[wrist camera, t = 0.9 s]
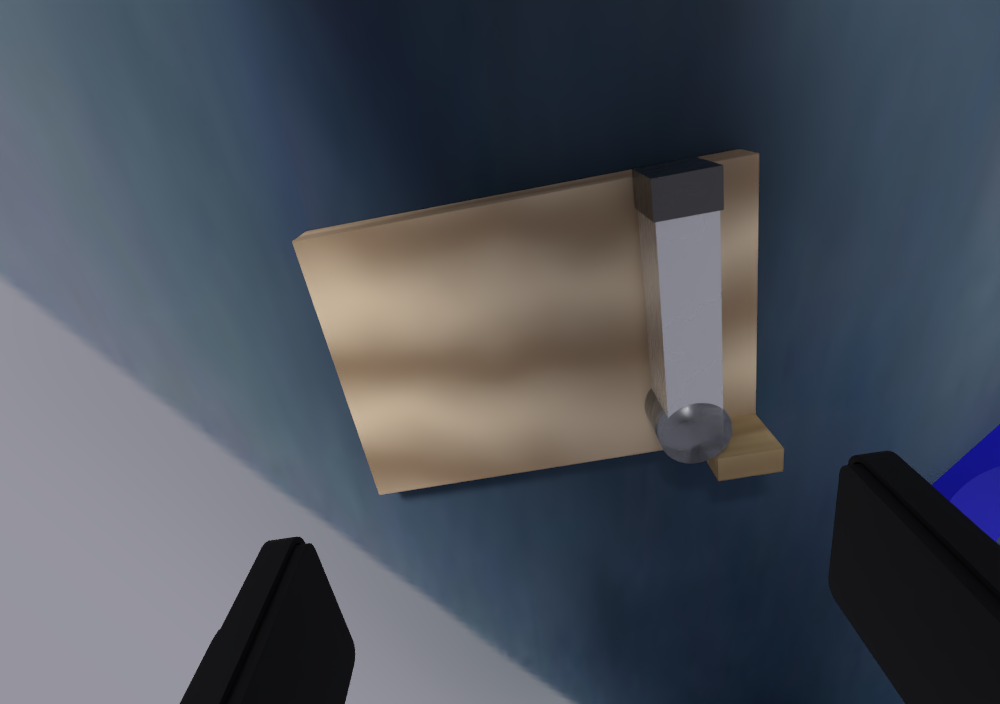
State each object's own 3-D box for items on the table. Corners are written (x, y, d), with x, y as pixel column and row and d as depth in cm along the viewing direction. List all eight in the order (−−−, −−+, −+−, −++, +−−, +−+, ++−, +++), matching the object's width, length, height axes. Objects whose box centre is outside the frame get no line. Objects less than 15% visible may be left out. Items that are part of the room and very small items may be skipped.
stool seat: (305, 231, 26) (267, 260, 21) (739, 148, 25) (795, 161, 20) (385, 472, 32) (368, 535, 27) (739, 415, 31) (783, 471, 26)
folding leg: (710, 423, 28) (733, 458, 25) (646, 433, 28) (663, 469, 25) (702, 155, 23) (732, 163, 20) (624, 170, 23) (642, 180, 20)
